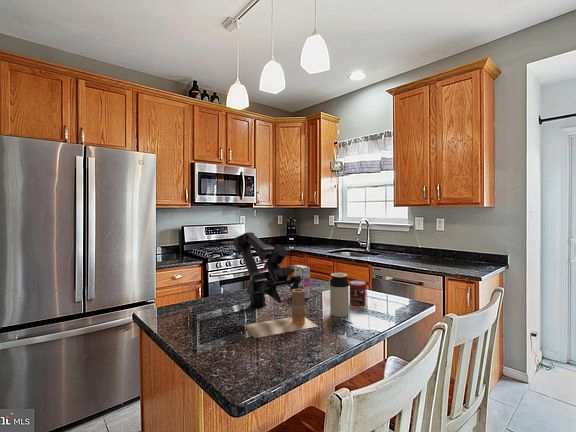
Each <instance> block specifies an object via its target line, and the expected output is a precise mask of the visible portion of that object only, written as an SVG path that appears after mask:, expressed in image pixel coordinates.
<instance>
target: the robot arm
mask: <svg viewBox="0 0 576 432" xmlns="http://www.w3.org/2000/svg"><path fill="white" fill-rule="evenodd" d="M232 243H233V246H234V248H235V250H236V251H238V252H239V253H240V254H241V256H242V259H243V261H244V264H245V266H246V269H247V271H248V274H249V282H248V283H249V286H248V287H247V288H246V292H247V295H249V297H250V303H249V305H248V307H249V308H255V309H261V308H264V307H265V306H267V304H266V296H265V295H268V296H269V297H270V298H272V299H274V301H276V302H277V303H278V304H281V303H282V300H281V297H280V294H279V293H278V290H277V287H284V286H288V287H289V289H290V291H291V292H292V290H293V289H298V285H299V284H300V282H301V281H302V278H301V276H299V275H297V276H294V272H295V269H294V265H293V264H291V265H287V266H286V267H285V266H283V267H282V266H281V264H282V263H283V262H284V261H285V259H286V257H287V256H288V250H287V249H286V248H285V247H284V246H281V244H276V245H275V246H274V247H273V246H272V245H269V244H266V243H264V242H263V241H262V240H261V239H260V238H259V237H257V236H256V235H255V233H254V232H252V231H251V232H244V233H243V234H241V235H238V236H235V238H234V239H233V241H232ZM251 247H252V248H253V249H254V250H255V251H256V255H257V257H258V259H260V260H261V261H265V262H264V266H263V268H264V269H267V271H268V273H269V279H267V276H266V274H265V273H264V272H263V273H261V272H260V271H259V268H258V266H257V263H256V260H255V257H254V255H253V254H252V251H251ZM290 275H292V276H291V278H290ZM289 278H290V279H289Z"/></svg>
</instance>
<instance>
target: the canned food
mask: <svg viewBox="0 0 576 432" xmlns="http://www.w3.org/2000/svg"><path fill="white" fill-rule="evenodd" d="M366 292H367V283H366V282H365V280H364V281H362V280H351V281H349V305H350V306H352V307H356V308H361V307H362V308H363V307H365V306H367V305H366V304H367V293H366Z"/></svg>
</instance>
